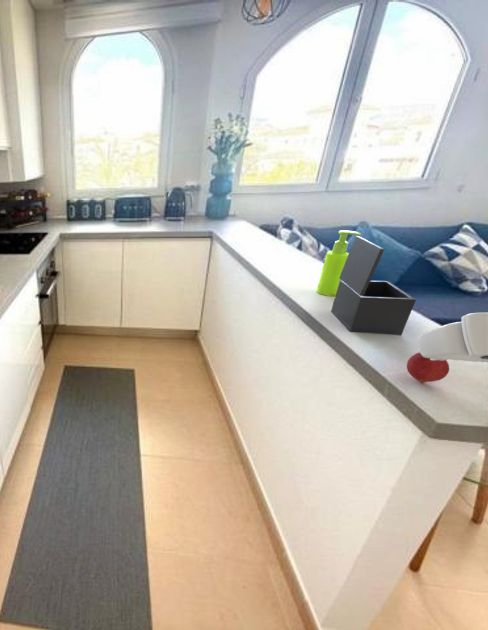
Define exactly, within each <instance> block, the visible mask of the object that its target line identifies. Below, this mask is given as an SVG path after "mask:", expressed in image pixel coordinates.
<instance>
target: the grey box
mask: <svg viewBox="0 0 488 630" xmlns="http://www.w3.org/2000/svg"><path fill="white" fill-rule="evenodd" d="M333 299H334V300H333V302H332V307H331V309H330V311H331V313H332V314H333V315H334V317H335V318H336V319H337V320H338V321H339V322H340V323H341V324H342V325H343V326H344V327H345V328H346V329H347V331H348V332H350V333H363V334H365V333H366V334H378V335H379V334H380V335H395V334H400V336H402V335H403V333H404V330H405V328H406V325H407V323H408V320H409V318H410V315H411V313H412V310H413V308H414V306H415V303H416V301H417V299H416V298H414V296H412V295H410V294H409V293H407V292H405V291H404V290H402V289H401V288H399V287H398V286H396V285H394V284H393V283H392V282H391V281H389V280H370V283H369V285H368V287H367V289H366V292H365V294H364V296H360V295H359V294H358V293H356V292H355V291H354V290H353V289H352V288H350V287H349V286H348V285H347V284H346V283H344V282H343V281H342V280H340V282H339V286H338V289H337V293H336V296H334V298H333Z"/></svg>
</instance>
